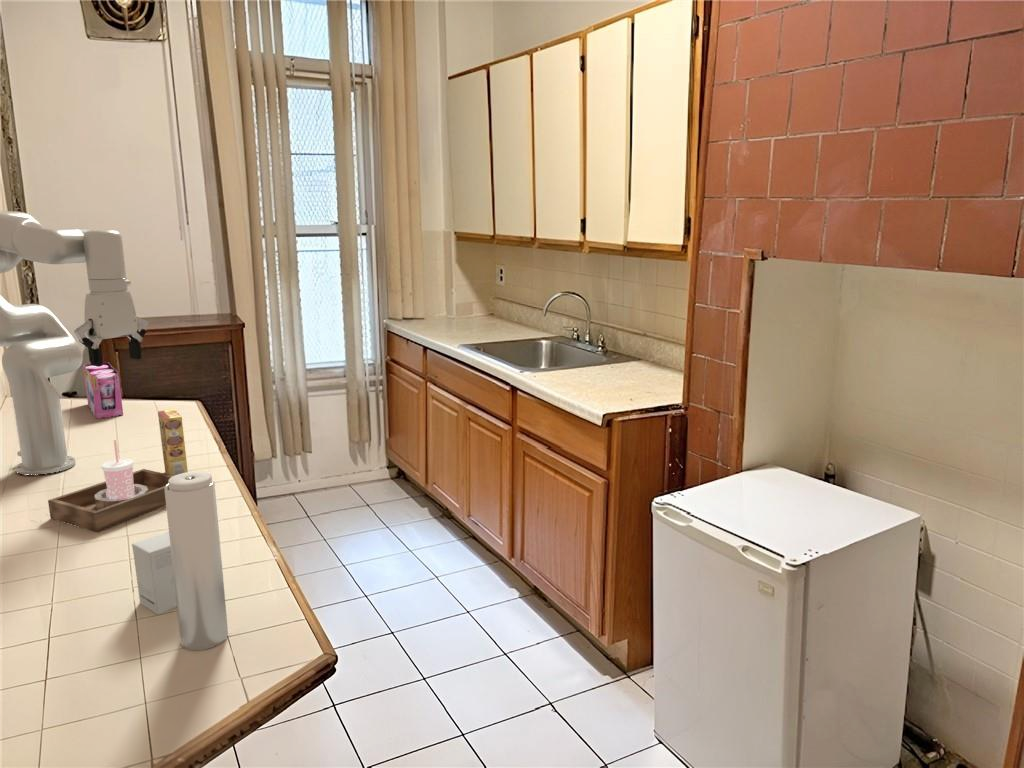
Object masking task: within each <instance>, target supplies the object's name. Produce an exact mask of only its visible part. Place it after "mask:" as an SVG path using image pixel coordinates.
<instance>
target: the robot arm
mask: <svg viewBox="0 0 1024 768" xmlns="http://www.w3.org/2000/svg"><path fill="white" fill-rule="evenodd" d="M122 238H123V237H122V234H121V233H120V232H119V231H117V230H111V229H110V230H109V229H100V230H99V229H96V230H95V229H89V228H44V227H43V225H42V224H41V223H40V222H39V221H38V220H36V219H35V218H34V217H33V216H31V215H30V214H28V213H26V212H22V211H13V210H12V211H8V210H6V211H5V210H4V211H3V210H2V211H1V210H0V274H5V273H8V272H10V271H11V270H13V269H15V267H16V266H17V265H19V263H20V262H21V261H22V260H26V261H30V262H34V263H41V264H44V265H45V264H46V265H65V264H67V265H68V264H69V265H70V264H84V263H85V266H86V273H87V282H88V289H89V291H88V292H89V293H85V298H84V299H85V300H84V313H83V315H84V323H83V324H80V326H78V327H77V328H76V329H74V331H73V334H74V335H75V337H76V338H77V339H78V341H79V343H81V344H82V345H83V346H84V347H85V349H87V350H88V351H87V352H88V359H89V363H90V364H91V365H92V366H98V367H99V366H102V365H103V364H102V363H103V357H102V350H101V348H99V346H100V344H101V342H102V341H103V340H108V339H114V338H120V337H127V338H128V340H130V341H128V352H129V357H130V359H134V360H141V359H142V345H141V343H142V342H143V338H144V337H145V335H146V333H147V329H148V325H149V321H148V320H146V319H143V318H141V317H139V316H137V314H136V313H137V312H136V308H135V303H134V300H133V297H132V294H131V292H130V291H128V290H129V289H128V286H131V284H132V282H131V280H130V279H127V273H126V264H125V255H124V254H125V253H124V246H123V245H124V244H123V239H122ZM79 343H78V342H77V340H76V339H75V338H74V336H73V335H72V334H71V333H70V331H68V329H67V328H66V327H65V326H64V324H62V322H61V321H60V320H59V318H57V316H56V315H55V313H53V312H52V311H51V310H50V309H49V308H47V307H46V306H44V305H41V304H37V303H27V304H26V303H24V304H12V303H10V302H8V301H7V300H6V299H5V297H3V295H2V294H1V293H0V347H2V348H3V347H7V348H6V349H5V350H4V352H3V354H2V355H1V356H2V357H1V365H2V369H3V371H4V374H5V377H6V379H7V382H8V384H9V388H10V393H11V397H12V403H13V411H14V415H15V423H16V427H17V436H18V443H19V444H18V445H19V448H20V450H19V451H17V456H18V457H20V458H21V462H20V463H19V464H17V465H16V466H15V468H14V469H15V472H16V471H17V472H18V473H21V474H29V475H31V474H32V475H34V476H38V475H37V474H45V475H48V474H47V473H51V474H55V473H54V472H56V473H60V472H63V471H66V470H68V469H71V468H72V467H74V466H75V465H76V464H77V463H76V458H74V457H73V456H70V455H68V452H67V442H66V436H65V428H64V427H65V426H64V421H63V412H62V405H61V401H60V400H61V399H60V395H59V392H58V391H57V389H56V388H55V387H54V386H53V385H52V383H51V381H49V378H52V377H58V376H61V375H66V374H70V373H72V372H75V371H78V369H79V368H80V367H81V366H82V364H83V361H84V358H83V357H84V356H83V351H82V348H81V346H80V345H79ZM59 471H60V472H59ZM18 473H17V474H18ZM35 474H36V475H35Z"/></svg>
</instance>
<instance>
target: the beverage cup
mask: <svg viewBox="0 0 1024 768" xmlns="http://www.w3.org/2000/svg"><path fill="white" fill-rule="evenodd" d="M113 446H114V453H115V459H111V460H108V461H105V462H103V463H101V471H103V475H104V479H105V481H106V486H107V491H108V496H109V499H120V498H126V497H130V496H133V495H134V482H133V472H134V466H135V463H134V460H133V459H130V458H119V454H118V444H117V440H116V439H113Z"/></svg>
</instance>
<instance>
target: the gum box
mask: <svg viewBox="0 0 1024 768" xmlns="http://www.w3.org/2000/svg"><path fill="white" fill-rule="evenodd" d="M102 364H103V365H102V366H99V367H98V366H92V365H91V363H88V364H87V363H85V364H83V365H82V368H83V376H84V383H85V385H84V386H85V391H86V398H87V406H88V407H89V408H91V409H90V411H91V412H93V413H92V414H93V416H94V417H95V419H103V418H102V417H105V418H112V417H111V416H113V417H118V416H119V415H122V416H124V410H123V409H124V408H123V400H122V391H121V385H120V377H119V372H118V370H117V369H115V368H114V366H112V365H111V364H110V362H108V361H107V362H102ZM119 417H120V416H119Z"/></svg>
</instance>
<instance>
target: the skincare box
mask: <svg viewBox="0 0 1024 768" xmlns="http://www.w3.org/2000/svg"><path fill="white" fill-rule="evenodd" d="M131 546H132V554H133V560H134V567H135V575H136V583H137V584H136V585H137V590H138V591H137V592H138V598H139V604H141V605H143V606H144V607H146V608H147V609H148V610H150V611H151V612H153V613H154V614H156V615H161V614H163V613H165V612H168V611H170V610H172V609H175V608H177V603H176V593H175V584H174V574H173V565H172V556H171V546H170V537H169V531H167V532H164V533H161V534H158V535H155V536H152V537H148V538H146V539H145V538H144V539H143V540H140V541H136V542H133V543H131Z"/></svg>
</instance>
